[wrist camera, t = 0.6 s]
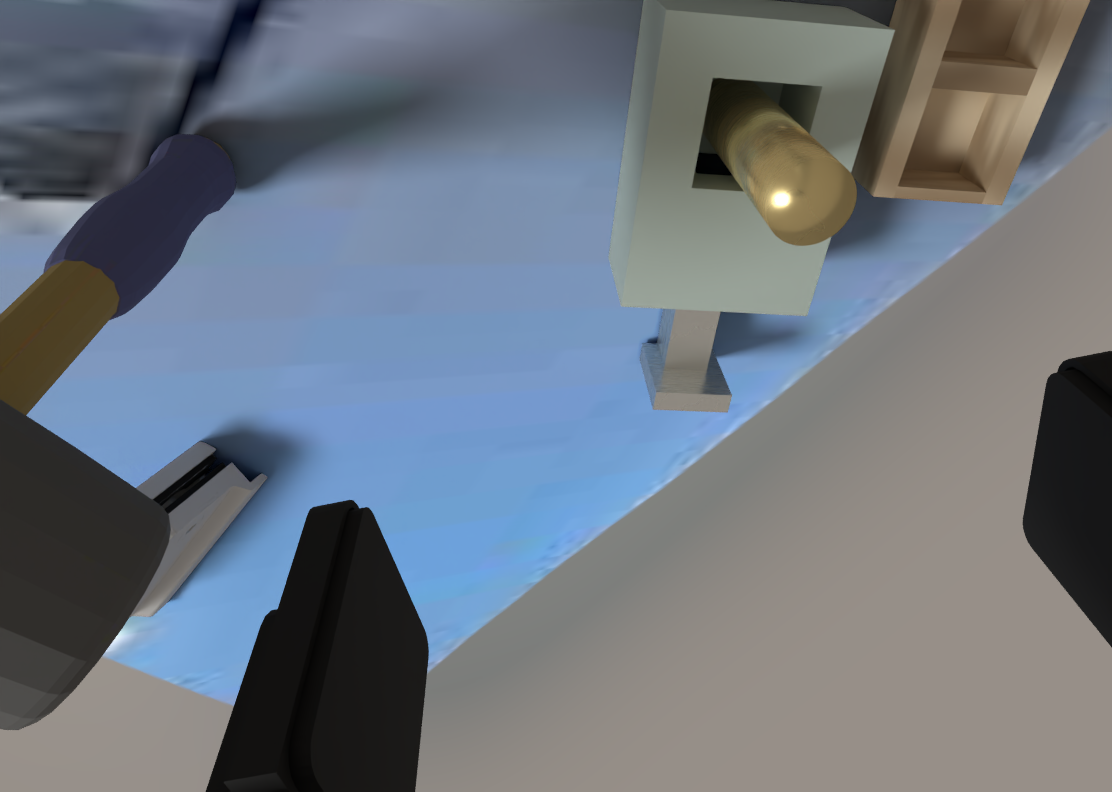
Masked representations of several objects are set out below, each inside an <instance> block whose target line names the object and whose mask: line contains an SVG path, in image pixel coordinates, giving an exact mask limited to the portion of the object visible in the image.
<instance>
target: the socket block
mask: <svg viewBox="0 0 1112 792" xmlns="http://www.w3.org/2000/svg"><path fill="white" fill-rule="evenodd" d="M894 32H895V30H894V29H892V28H889V27H887V26H885V25H883V24H881V23H879V22H876V21H874V20H872V19H870V18H868V17H866V16H863V15H861V14H859V13H857V12H855V11H853V10H850V9H848V8H846V7H840V6H829V5H818V4H807V3H796V2H785V1H774V0H643V7H642V15H641V22H640V29H639V37H638V44H637V51H636V59H635V66H634V73H633V81H632V88H631V95H630V103H629V110H628V117H627V125H626V132H625V139H624V147H623V154H622V161H621V169H620V176H619V183H618V191H617V198H616V205H615V213H614V220H613V227H612V235H611V242H610V249H609V261H610V265H611V269H612V273H613V277H614V281H615V284H616V288H617V292H618V296H619V300H620V304H621V306H622V307H641V308H661V309H680V310H699V311H719V312H738V313H758V314H777V315H796V316H807V314H808V311H809V308H810V304H811V301H812V298H813V295H814V291H815V288H816V285H817V282H818V278H819V275H820V272H821V269H822V265H823V262H824V259H825V256H826V252H827V249H828V246H829V243H830V239H831V237H830V238H828V239H826V240H824V241H822V242H820V243H817V244H813V245H807V246H797V245H792V244H788V243H786V242H784V241H782V240H780V239H779V238H778V237H777V236H776V235H775V234H774V233H773V232H772V230H771V229H770V228H769V226H768V225H767V223H766V222H765V220H764V219H763V218H762V216H761V215H760V213H759V212H758V211H757V209H756V208H755V206H754V205H753V203H752V202H751V201H750V199H749V198H748V196H747V195H746V194H745V192H744V191H743V189H742V188H741V186H740V185H739V184H738V182H737V181H736V179H735V178H734V177H733V176H727V175H712V174H698V173H696V172H695V168H696V162H697V157H698V152H699V153H713V154H717V152H716V151H715V150H714V148H713V147H712V145H711V144H710V142H709V141H708V140H707V138H706V137H705V135H704V134H703V133H702V131H703V126H704V121H705V115H706V110H707V105H708V100H709V95H710V89H711V84H712V82H713V81H714V80H716V79H718V78H725V79H737V80H750V81H753V82H754V83H755V84H756V85H757V86H758V87H759V88H761V89H762V90H763V91H764V92H765V93H766V94H767V95H768V96H769V97H770V98H771V99H772V100H773V101H775V102H776V103H777V104H778V105H779V106H780V107H781V108H782V109H783V110H784V111H785V112H786V113H787V114H789V115H790V116H791V117H792V118H793V119H794V120H795V121H796V122H797V123H798V124H799V125H800V126H801V127H803V128H804V129H805V130H806V131H807V132H808V133H809V134H810V135H811V136H812V137H813V138H814V139H815V140H817V141H818V142H819V143H820V144H821V145H822V146H823V147H824V148H825V149H826V150H827V151H828V152H829V153H831V154H832V155H833V156H834V157H835V158H836V159H837V160H838V161H839V162H840V163H841V164H842V165H843V166H845V167H846V168H847V169H848V170H849V172H850V173H851V171H852V168H853V165H854V162H855V158H856V155H857V152H858V149H859V145H860V142H861V139H862V136H863V132H864V129H865V126H866V123H867V119H868V116H869V113H870V110H871V106H872V103H873V100H874V97H875V93H876V90H877V87H878V84H879V80H880V77H881V74H882V71H883V67H884V64H885V61H886V58H887V54H888V51H889V48H890V45H891V41H892V38H893V35H894Z"/></svg>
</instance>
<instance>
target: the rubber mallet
mask: <svg viewBox="0 0 1112 792" xmlns="http://www.w3.org/2000/svg"><path fill="white" fill-rule="evenodd" d="M235 186H236V178H235V173H234V168H233V163H232V162H231V160H230V157H229V155H228V154H227V153H226V152H225V150H224V149H223V148H222V147H221V146H220V145H219V144H217V143H216V142H214V141H212V140H210V139H208V138H205V137H202V136H200V135H186V134H177V135H174V136H172V137H169V138H167V139H165V140H164V141H163V142H162V143H161V145H160V146H159V147H158V148H157V150H156V151H155V152H154V153H153V155H152V156H151V159H150V163H149V166H148V167H147V168H146V169H145V170H143V171H142V172H141V173H140V174H139V175H138V176H137V177H136V178H135V179H134V180H133V181H131V182H130V183H129V184H128V185H127V186H125V187H124V188H122V189H120V190H118V191H116V192H114V193H112V194H110V195H108V196H106V197H104V198H102V199H101V200H99V201H98V202H97V203H95V204H94V205H93V206H92V207H91V208H90V209H89V210H88V211H87V212H86V213H85V214H84V215H83V216H82V217H81V218H80V219H79V220H78V221H77V222H76V223H75V225H74V226H73V227H72V228H71V230H70V231H69V232H68V233H67V234H66V236H65V237H64V238H63V239H62V240H61V242H60V243H59V244H58V246H57V247H56V248H55V249H54V251H53V252H52V254H51V255H50V257H49V258H48V260H47V262H46V264H45V268H44V273H43V274H42V275H41V276H40V277H39V278H38V279H37V280H36V281H35V282H34V283H33V284H32V285H31V286H30V287H29V288H28V289H27V290H26V291H25V292H24V293H23V294H22V295H21V296H20V297H18V298H17V299H16V300H15V301H14V302H13V303H12V304H11V305H10V306H9V307H8V308H7V309H6V310H5V311H4V312H3V313H2V314H1V315H0V729H4V730H19V729H22V728H24V727H26V726H29V725H31V724H34V723H36V722H38V721H39V720H41V719H42V718H43V717H45V716H47V715H48V714H50V713H51V712H52V711H53V710H54V709H55V708H57V706H58V705H59V704H60V703H62V701H64V699H66V697H68V696H69V694H71V693H72V692H73V691H74V689H75V688H76V687H77V686H78V685H79V684H80V682H81V681H82V680H83V679H84V678H85V676H86V675H87V674H88V673H89V672H90V670H91V669H92V668H93V667H94V666H95V664H96V663H97V662H98V661H99V659H100V658H101V657H102V655H103V654H104V653H105V651H106V650H107V648H108V647H109V646H110V644H111V643H112V642H113V640H114V639H115V637H116V636H117V635H118V633H119V632H120V631H121V629H122V628H123V626H124V625H125V623H126V622H127V620H128V619H129V617H130V615H131V614H132V612H133V611H134V609H135V608H136V606H137V604H138V603H139V601H140V600H141V598H142V597H143V595H144V593H145V592H146V590H147V588H148V586H149V584H150V582H151V580H152V579H153V577H154V575H155V573H156V571H157V569H158V567H159V566H160V563H161V561H162V559H163V556H164V554H165V551H166V549H167V546H168V544H169V539H170V532H171V527H170V519H169V515H168V513H167V512H166V511H165V510H164V509H163V507H162V506H160V505H159V504H158V503H156V502H155V501H154V500H152V499H151V498H149V497H148V496H146V495H145V494H143V493H142V492H140V491H139V490H137V489H136V488H134V487H133V486H131V485H130V484H129V483H127V482H126V481H124V480H123V479H121V478H120V477H118V476H117V475H115V474H114V473H112V472H111V471H109V470H108V469H106V468H105V467H103V466H102V465H101V464H99V463H98V462H96V461H95V460H93V459H92V458H90V457H89V456H87V455H86V454H84V453H83V452H81V451H80V450H78V449H77V448H76V447H74V446H72V445H71V444H69V443H68V442H66V441H65V440H63V439H62V438H60V437H58V436H57V435H55V434H54V433H52V432H51V431H49V430H47V429H46V428H44V427H43V426H41V425H40V424H38V423H37V422H35V421H33V420H32V419H30V418H29V417H27V416H26V415H27V414H28V412H29V411H30V410H31V409H32V408H33V407H34V406H35V404H36V403H37V402H38V401H39V400H40V399H41V398H42V396H43V395H44V394H45V393H46V392H47V391H48V389H49V388H50V387H51V386H52V385H53V384H54V383H55V381H56V380H57V379H58V378H59V377H60V376H61V375H62V373H63V372H64V371H65V370H66V369H67V368H68V367H69V365H70V364H71V363H72V362H73V361H74V360H75V358H76V357H77V356H78V355H79V354H80V353H81V352H82V350H83V349H84V348H85V347H86V346H87V345H88V344H89V342H90V341H91V340H92V339H93V338H94V337H95V335H96V334H97V333H98V332H99V331H100V330H101V329H102V327H103V326H104V325H105V324H106V323H107V322H108V321H109V320H111V319H114V318H116V317H119V316H121V315H123V314H125V313H127V312H128V311H129V310H131V309H132V308H133V307H135V306H136V305H137V304H138V303H139V302H140V301H141V300H142V299H143V298H144V297H145V296H147V295H148V294H149V293H150V292H151V291H152V290H153V289H154V288H155V287H156V286H157V284H158V283H159V282H160V281H161V280H162V279H163V278H164V277H165V275H166V274H167V273H168V272H169V271H170V270H171V269H172V267H173V266H174V265H175V264H176V263H177V261H178V260H179V258H180V256H181V254H182V252H183V249H184V247H185V245H186V243H187V240H188V238H189V237H190V235H191V233H192V232H193V231H194V230H195V228H196V227H197V226H198V225H199V224H200V222H201V221H202V220H203V219H204V218H205V217H206V216H207V215H208V214H211V213H213V212H216V211H218V210H220V209H221V208H222V207H223V205H224V204H225V203H226V202H227V201H228V200H229V199H230V198H231V196H232V195H233V194H234V190H235Z"/></svg>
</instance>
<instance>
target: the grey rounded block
mask: <svg viewBox="0 0 1112 792" xmlns="http://www.w3.org/2000/svg"><path fill="white" fill-rule="evenodd" d="M215 450H216V449H215V448H213V447H212V446H210V445H208V444H207V443H204V442H200V441H199V442H197V443H196V444H195V445H193V446H192V447H191V448H189V449H188V450H187V451H185V452H184V453H183V454H181V455H180V456H178V457H177V458H176V459H174V460H173V461H172V462H170V463H169V464H168V465H166V466H165V467H164V468H162V469H161V470H160V471H158V472H157V473H156V474H154V475H153V476H152V477H150V478H149V479H148V480H146V481H145V482H143V483H142V484H141V485H139V486H138V487H137V488H136V489H137V490H139V491H140V492H142V493H143V494H145V495H146V496H148V497H149V498H151V499H152V500H154V501H155V502H156V503H158V504H159V505H160V506H162V507H163V509H164V510H165V511H166V512H167V513H168V515H169V519H170V527H171V532H170V539H169V544H168V546H167V549H166V551H165V554H164V556H163V559H162V561H161V563H160V566H159V567H158V569H157V571H156V573H155V575H154V577H153V579H152V580H151V582H150V584H149V586H148V588H147V590H146V592H145V593H144V595H143V597H142V598H141V600H140V601H139V603H138V604H137V606H136V608H135V609H134V611H133V612H132V614H131V615H130V617H131V616H143V617H151V616H153V615H154V614H155V613H157V612H158V611H159V610H160V609H161V608H162V607H163V606H164V605H165V604H166V603H167V602H168V601H169V600H170V599H171V597H172V596H173V595H174V594H175V592H176V591H177V590H178V589H179V587H180V586H181V585H182V584H183V582H184V581H185V580H186V579H187V577H188V576H189V575H190V574H191V572H192V571H193V570H194V569H195V567H196V566H197V565H198V564H199V562H200V561H201V560H202V559H203V557H204V556H205V555H206V554H207V552H208V551H209V550H210V549H211V548H212V546H213V545H214V544H215V543H216V541H217V540H218V539H219V538H220V536H221V535H222V534H223V533H224V531H225V530H226V529H227V528H228V526H229V525H230V524H231V523H232V521H233V520H234V519H235V518H236V516H237V515H238V514H239V513H240V511H241V510H242V509H243V508H244V506H245V505H246V504H247V503H248V501H249V500H250V499H251V498H252V496H253V495H254V494H255V493H256V491H257V490H258V489H259V488H260V487H261V485H262V484H263V483H264V482H265V480H266V479H267V478H268V477H267V476H265V475H264V474H262V473H261V474H260V475H259V476H257V477H256V478H255V479H254V480H253V481H251V482H249V481H248V480H247V478H246V477H245V476H244V475H243V474H242V473H241V472H240V471H239V470H238V469H237V467H236V466H235V465H234V464H233V463H230V464H229V465H228V466H226V465H225V464H223V463H221V464H220V465H219V466H217V467H216V468H215V469H214V470H212V471H211V472H210V473H209V474H208V475H205V473H206V472H207V471H208V469H209V468H210V467H211V465H212V464H213V463H214V461H215V460H216V459H217V458H216V457H215V456H214V455H213V453H214V452H215Z"/></svg>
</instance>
